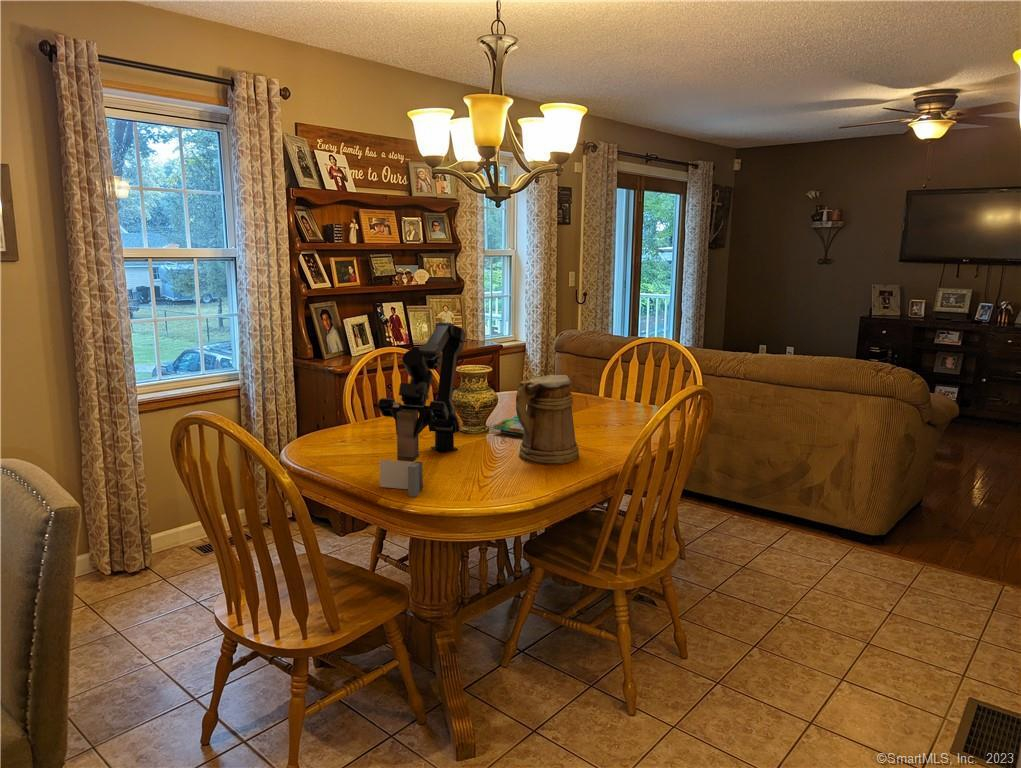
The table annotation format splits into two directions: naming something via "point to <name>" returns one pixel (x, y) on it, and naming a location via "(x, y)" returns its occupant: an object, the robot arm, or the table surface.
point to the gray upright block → (413, 480)
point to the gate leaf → (397, 474)
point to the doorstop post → (407, 435)
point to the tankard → (546, 420)
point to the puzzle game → (510, 426)
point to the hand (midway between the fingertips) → (406, 436)
